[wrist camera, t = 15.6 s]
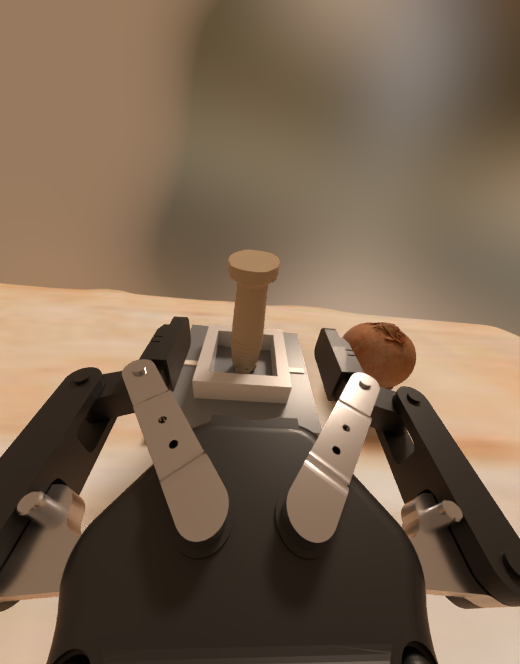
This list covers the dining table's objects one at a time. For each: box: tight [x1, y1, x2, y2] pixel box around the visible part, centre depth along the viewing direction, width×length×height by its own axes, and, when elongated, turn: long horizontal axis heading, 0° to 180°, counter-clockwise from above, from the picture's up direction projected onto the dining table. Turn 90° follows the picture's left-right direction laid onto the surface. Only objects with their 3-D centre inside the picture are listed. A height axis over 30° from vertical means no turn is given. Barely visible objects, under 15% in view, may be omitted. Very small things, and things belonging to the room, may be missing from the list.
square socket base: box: [172, 324, 322, 437], centre depth 30 cm, size 18×18×4 cm
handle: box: [228, 250, 280, 374], centre depth 26 cm, size 5×6×15 cm
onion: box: [343, 322, 416, 390], centre depth 30 cm, size 10×9×10 cm
